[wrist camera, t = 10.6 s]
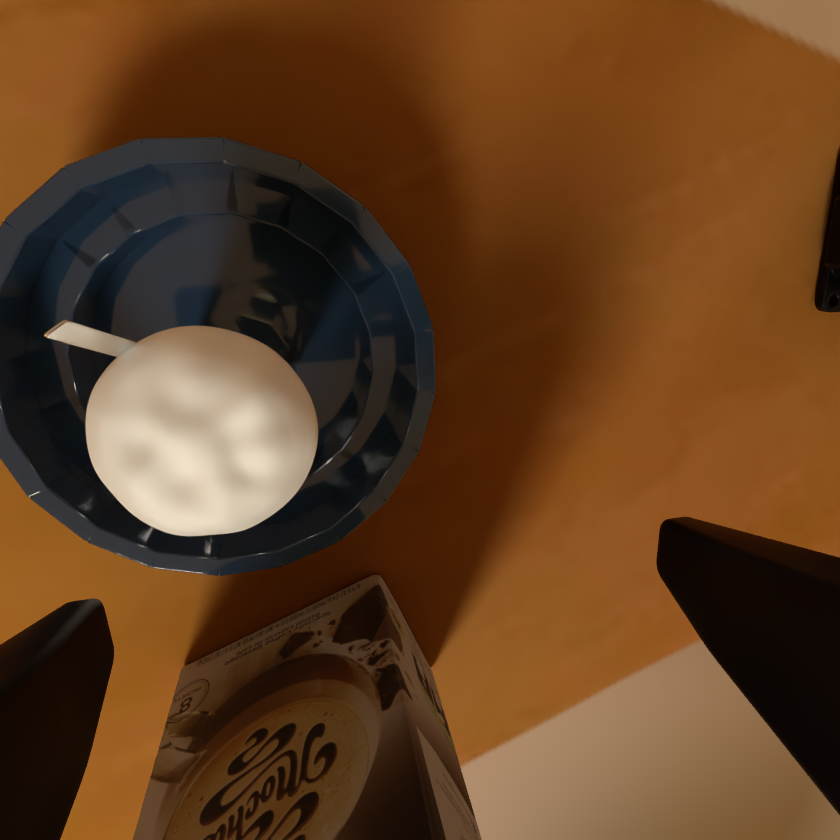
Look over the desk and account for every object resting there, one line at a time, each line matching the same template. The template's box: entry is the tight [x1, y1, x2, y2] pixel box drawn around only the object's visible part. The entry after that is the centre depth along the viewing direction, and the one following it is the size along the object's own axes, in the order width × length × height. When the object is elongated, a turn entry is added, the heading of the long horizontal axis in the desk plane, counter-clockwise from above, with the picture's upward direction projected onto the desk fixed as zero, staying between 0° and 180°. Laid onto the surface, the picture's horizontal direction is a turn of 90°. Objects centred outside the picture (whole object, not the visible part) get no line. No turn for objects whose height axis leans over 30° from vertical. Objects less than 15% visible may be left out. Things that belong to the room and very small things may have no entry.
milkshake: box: [44, 315, 318, 536], centre depth 14 cm, size 5×5×10 cm
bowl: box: [0, 137, 436, 576], centre depth 17 cm, size 12×12×4 cm
